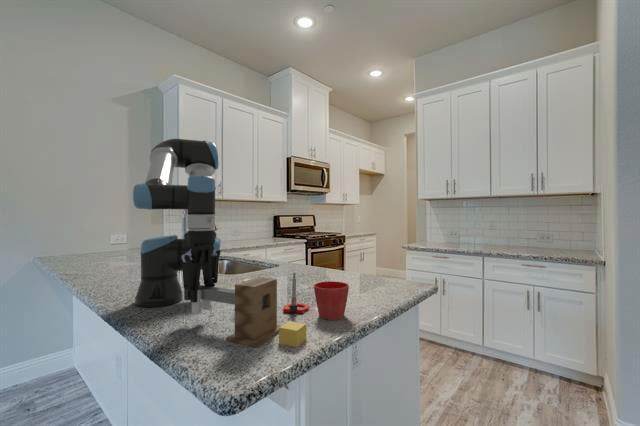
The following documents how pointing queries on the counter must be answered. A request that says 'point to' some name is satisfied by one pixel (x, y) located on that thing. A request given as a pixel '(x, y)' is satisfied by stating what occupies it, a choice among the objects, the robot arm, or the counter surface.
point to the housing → (255, 312)
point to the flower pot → (331, 299)
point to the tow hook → (294, 301)
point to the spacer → (292, 333)
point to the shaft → (216, 294)
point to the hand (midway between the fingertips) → (201, 310)
